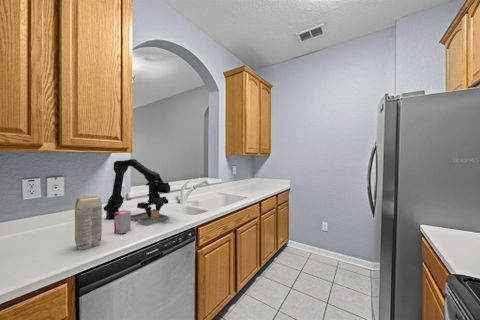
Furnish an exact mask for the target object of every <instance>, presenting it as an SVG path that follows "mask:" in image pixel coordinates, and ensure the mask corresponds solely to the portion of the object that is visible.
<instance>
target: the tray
mask: <svg viewBox="0 0 480 320" xmlns="http://www.w3.org/2000/svg"><path fill="white" fill-rule="evenodd" d="M168 220H169V215H166V214H163V213H159V218H157V219H154V220H151V219H148V217H145V218H141V219H138V221H137V223H138V224H140V225H143V226H146V227H149V226H150V225H154V224H157V223H160V222H164V221H168Z"/></svg>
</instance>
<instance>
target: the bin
mask: <svg viewBox="0 0 480 320" xmlns="http://www.w3.org/2000/svg"><path fill="white" fill-rule="evenodd" d="M145 217H148V214H147V212H146V211H145V212H141V213H137V214H131V222H132V221H133V222H138V219H141V218H145Z"/></svg>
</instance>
